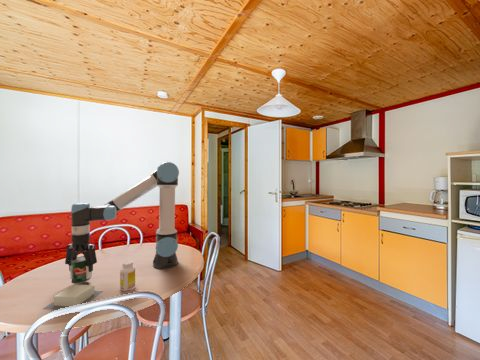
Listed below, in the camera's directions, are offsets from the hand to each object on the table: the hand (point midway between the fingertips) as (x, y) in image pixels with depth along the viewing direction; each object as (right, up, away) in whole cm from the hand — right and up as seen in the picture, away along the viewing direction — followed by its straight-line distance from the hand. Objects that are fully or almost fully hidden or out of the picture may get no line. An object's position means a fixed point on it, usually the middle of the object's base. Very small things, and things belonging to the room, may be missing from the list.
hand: (81, 277), depth 107 cm
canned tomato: (0, -2, 0) cm, 2 cm away
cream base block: (+8, -3, -14) cm, 16 cm away
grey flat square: (+8, -4, -14) cm, 16 cm away
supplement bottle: (+25, -4, -3) cm, 26 cm away
